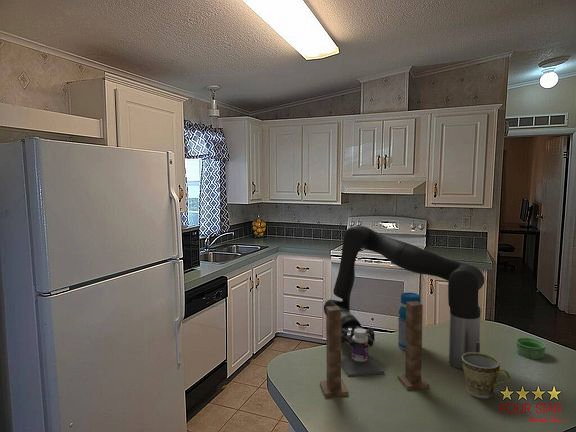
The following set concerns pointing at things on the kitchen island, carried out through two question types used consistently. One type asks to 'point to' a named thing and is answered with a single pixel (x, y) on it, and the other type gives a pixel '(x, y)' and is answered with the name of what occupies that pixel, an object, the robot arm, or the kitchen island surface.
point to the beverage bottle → (402, 317)
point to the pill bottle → (360, 345)
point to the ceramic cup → (481, 374)
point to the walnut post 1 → (333, 355)
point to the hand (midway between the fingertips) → (362, 344)
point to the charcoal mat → (361, 366)
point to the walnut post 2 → (413, 348)
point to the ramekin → (530, 348)
